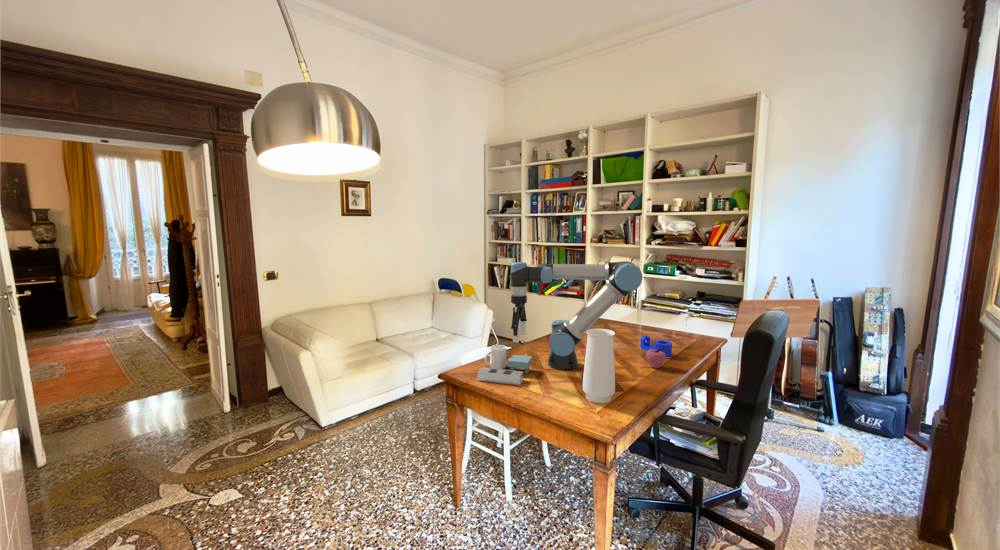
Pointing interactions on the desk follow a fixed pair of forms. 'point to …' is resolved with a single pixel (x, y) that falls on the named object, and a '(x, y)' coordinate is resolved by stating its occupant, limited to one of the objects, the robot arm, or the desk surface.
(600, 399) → the vase
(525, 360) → the pale blue memo pad
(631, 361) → the desk surface
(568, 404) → the desk surface
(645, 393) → the desk surface
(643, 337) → the bracket
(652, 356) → the apple
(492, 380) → the grey block with holes
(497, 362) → the mug
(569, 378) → the desk surface
